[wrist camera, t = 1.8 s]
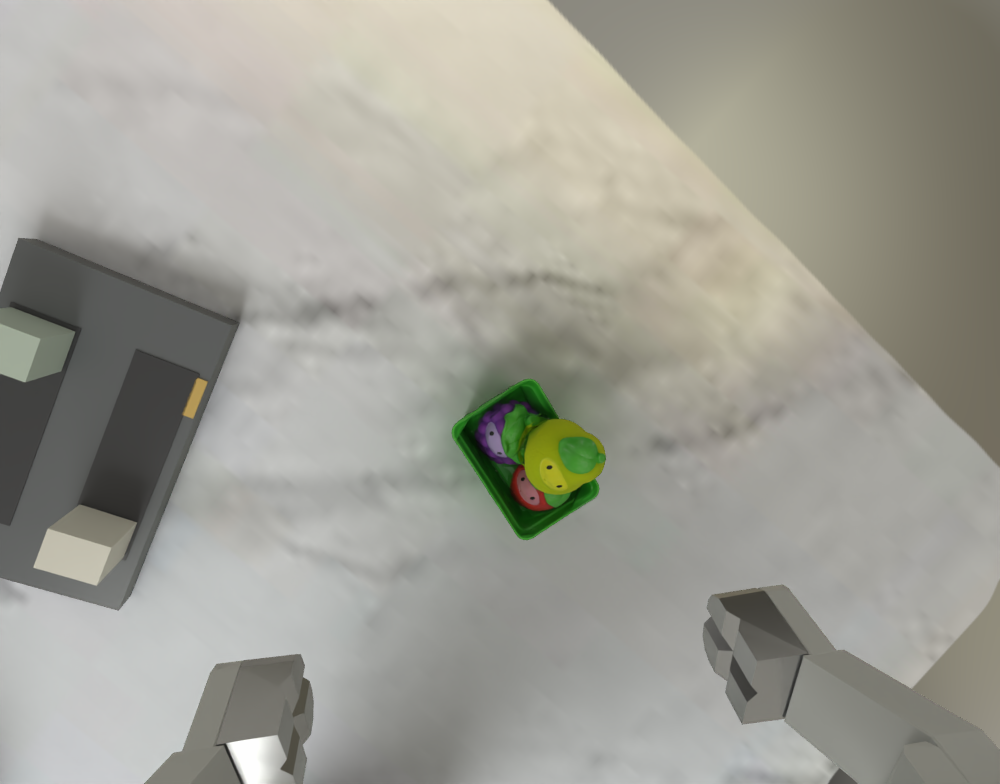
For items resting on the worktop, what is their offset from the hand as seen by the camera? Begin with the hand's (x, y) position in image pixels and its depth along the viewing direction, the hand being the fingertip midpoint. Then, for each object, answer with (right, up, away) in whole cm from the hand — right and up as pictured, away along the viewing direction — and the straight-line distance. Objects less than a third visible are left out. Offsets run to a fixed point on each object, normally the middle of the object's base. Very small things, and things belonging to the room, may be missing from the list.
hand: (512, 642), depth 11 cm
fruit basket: (+2, +1, +38) cm, 38 cm away
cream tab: (-30, -5, +31) cm, 43 cm away
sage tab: (-32, +9, +28) cm, 43 cm away
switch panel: (-31, +2, +32) cm, 44 cm away
